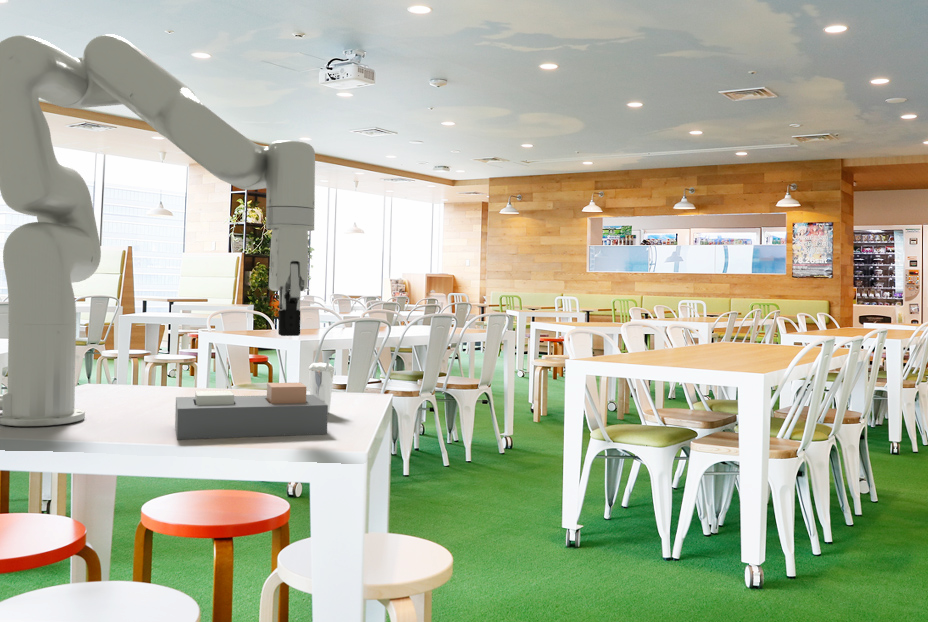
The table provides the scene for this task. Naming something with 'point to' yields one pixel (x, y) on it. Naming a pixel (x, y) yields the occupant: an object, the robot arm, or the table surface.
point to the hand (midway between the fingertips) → (289, 335)
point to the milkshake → (321, 381)
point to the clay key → (286, 393)
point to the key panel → (249, 418)
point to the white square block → (214, 397)
